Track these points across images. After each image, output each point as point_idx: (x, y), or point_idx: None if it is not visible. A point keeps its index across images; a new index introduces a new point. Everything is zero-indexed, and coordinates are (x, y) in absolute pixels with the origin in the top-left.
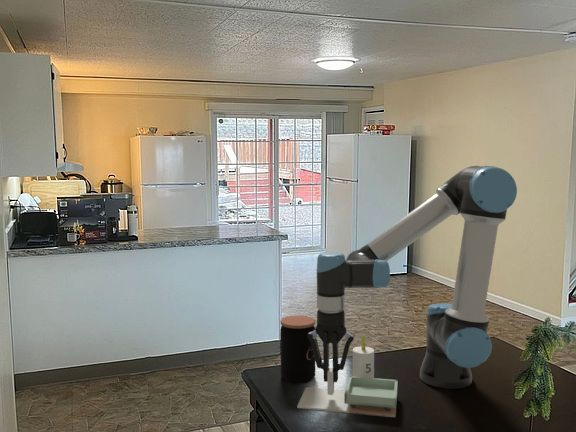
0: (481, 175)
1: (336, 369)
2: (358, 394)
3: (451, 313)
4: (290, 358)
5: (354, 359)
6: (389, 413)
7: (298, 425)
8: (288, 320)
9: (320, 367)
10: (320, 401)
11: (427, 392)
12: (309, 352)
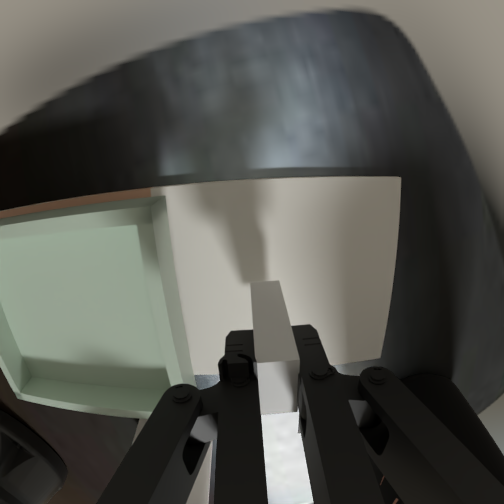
0: None
1: (226, 383)
2: (76, 226)
3: None
4: (471, 432)
5: (190, 500)
6: None
7: (352, 22)
8: None
9: (362, 373)
10: (307, 251)
11: (6, 390)
12: None
